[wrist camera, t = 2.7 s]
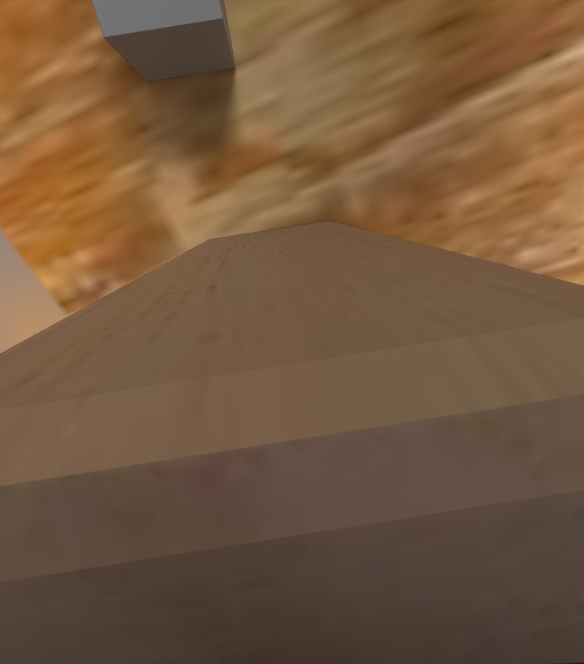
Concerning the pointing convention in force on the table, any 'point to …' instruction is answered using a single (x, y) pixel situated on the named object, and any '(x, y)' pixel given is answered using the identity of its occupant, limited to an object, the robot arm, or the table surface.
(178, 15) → the slate cube
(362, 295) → the block
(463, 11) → the table surface
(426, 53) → the table surface
